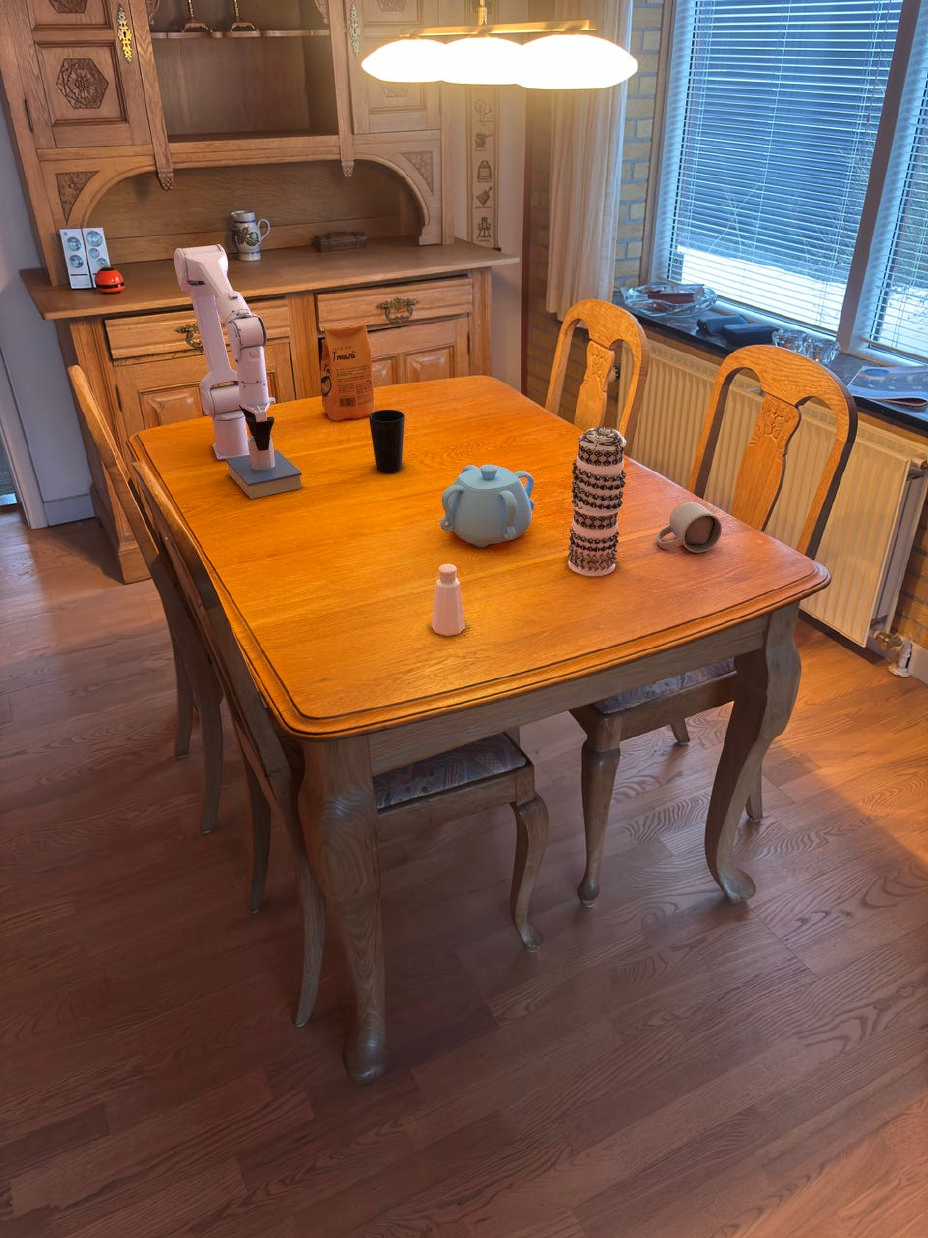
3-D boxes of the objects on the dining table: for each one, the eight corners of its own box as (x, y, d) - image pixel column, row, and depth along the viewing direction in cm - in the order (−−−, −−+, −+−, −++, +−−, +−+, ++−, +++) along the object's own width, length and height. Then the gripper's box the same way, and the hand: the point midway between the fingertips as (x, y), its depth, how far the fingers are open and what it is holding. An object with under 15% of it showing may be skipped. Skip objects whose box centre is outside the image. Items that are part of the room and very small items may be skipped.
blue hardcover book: (227, 475, 201) (225, 459, 199) (278, 464, 206) (277, 449, 204) (250, 499, 191) (247, 483, 189) (303, 488, 195) (301, 472, 194)
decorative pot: (510, 560, 168) (513, 491, 161) (431, 543, 174) (430, 475, 167) (542, 524, 181) (545, 458, 174) (467, 509, 187) (467, 445, 179)
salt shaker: (450, 614, 153) (449, 555, 147) (472, 628, 149) (472, 568, 143) (424, 626, 150) (422, 566, 144) (446, 640, 146) (445, 579, 140)
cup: (409, 462, 207) (407, 410, 201) (403, 475, 201) (401, 422, 195) (375, 460, 208) (372, 408, 202) (368, 474, 202) (365, 421, 195)
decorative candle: (555, 562, 168) (562, 430, 154) (592, 548, 172) (602, 418, 159) (590, 582, 162) (601, 446, 148) (627, 567, 166) (642, 433, 153)
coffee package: (319, 410, 236) (311, 322, 224) (366, 404, 240) (361, 317, 228) (330, 423, 228) (323, 333, 216) (378, 416, 232) (374, 327, 221)
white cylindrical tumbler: (249, 463, 198) (245, 436, 195) (272, 460, 199) (269, 433, 196) (253, 471, 194) (249, 444, 191) (277, 468, 195) (273, 441, 192)
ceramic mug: (700, 531, 178) (705, 494, 174) (719, 550, 171) (725, 512, 167) (648, 537, 176) (652, 500, 172) (666, 557, 169) (670, 519, 165)
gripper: (278, 388, 182) (285, 453, 189) (266, 366, 194) (273, 429, 201) (242, 392, 180) (250, 457, 187) (231, 370, 191) (240, 433, 199)
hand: (260, 443), depth 194 cm, fingers open, 7 cm apart
